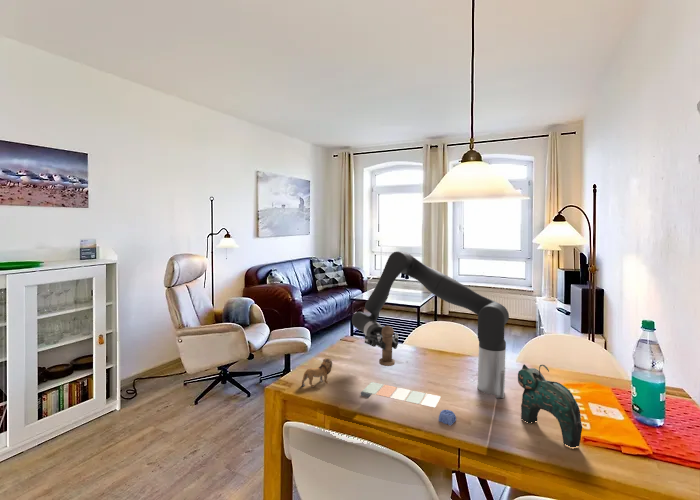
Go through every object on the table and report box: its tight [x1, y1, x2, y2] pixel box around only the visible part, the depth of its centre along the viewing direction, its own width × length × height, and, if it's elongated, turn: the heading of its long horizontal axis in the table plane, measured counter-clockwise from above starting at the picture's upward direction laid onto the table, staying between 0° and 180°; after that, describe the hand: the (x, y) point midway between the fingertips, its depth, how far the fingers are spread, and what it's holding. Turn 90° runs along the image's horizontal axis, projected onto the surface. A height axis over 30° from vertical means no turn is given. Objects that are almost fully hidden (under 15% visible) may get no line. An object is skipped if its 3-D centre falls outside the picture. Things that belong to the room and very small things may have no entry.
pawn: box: [378, 325, 396, 367], centre depth 134 cm, size 6×6×14 cm
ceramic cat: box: [517, 364, 583, 447], centre depth 111 cm, size 20×6×20 cm, turn 21°
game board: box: [360, 381, 442, 409], centre depth 132 cm, size 27×10×1 cm, turn 64°
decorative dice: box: [438, 409, 457, 426], centre depth 114 cm, size 4×4×4 cm
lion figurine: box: [300, 357, 333, 389], centre depth 143 cm, size 15×5×9 cm, turn 133°
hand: (390, 346), depth 131 cm, fingers closed on pawn, 3 cm apart
